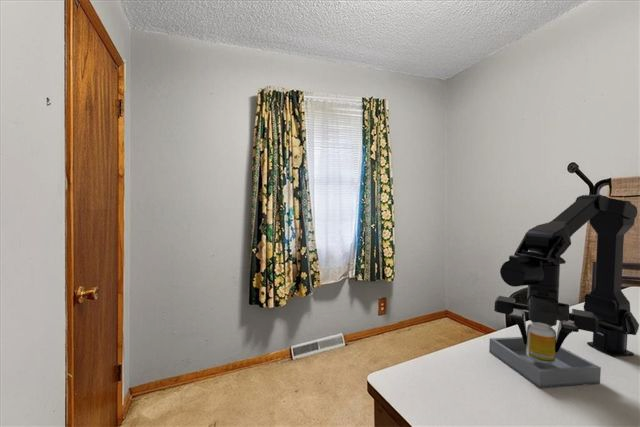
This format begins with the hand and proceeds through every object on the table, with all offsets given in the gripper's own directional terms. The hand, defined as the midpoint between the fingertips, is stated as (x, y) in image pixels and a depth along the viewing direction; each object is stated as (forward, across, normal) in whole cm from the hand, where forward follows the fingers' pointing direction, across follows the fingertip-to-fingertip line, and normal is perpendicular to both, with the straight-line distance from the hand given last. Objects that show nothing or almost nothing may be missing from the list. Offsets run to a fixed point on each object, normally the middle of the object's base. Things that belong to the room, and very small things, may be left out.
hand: (540, 347), depth 67 cm
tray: (+4, 0, 0) cm, 5 cm away
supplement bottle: (+3, 0, 0) cm, 3 cm away
